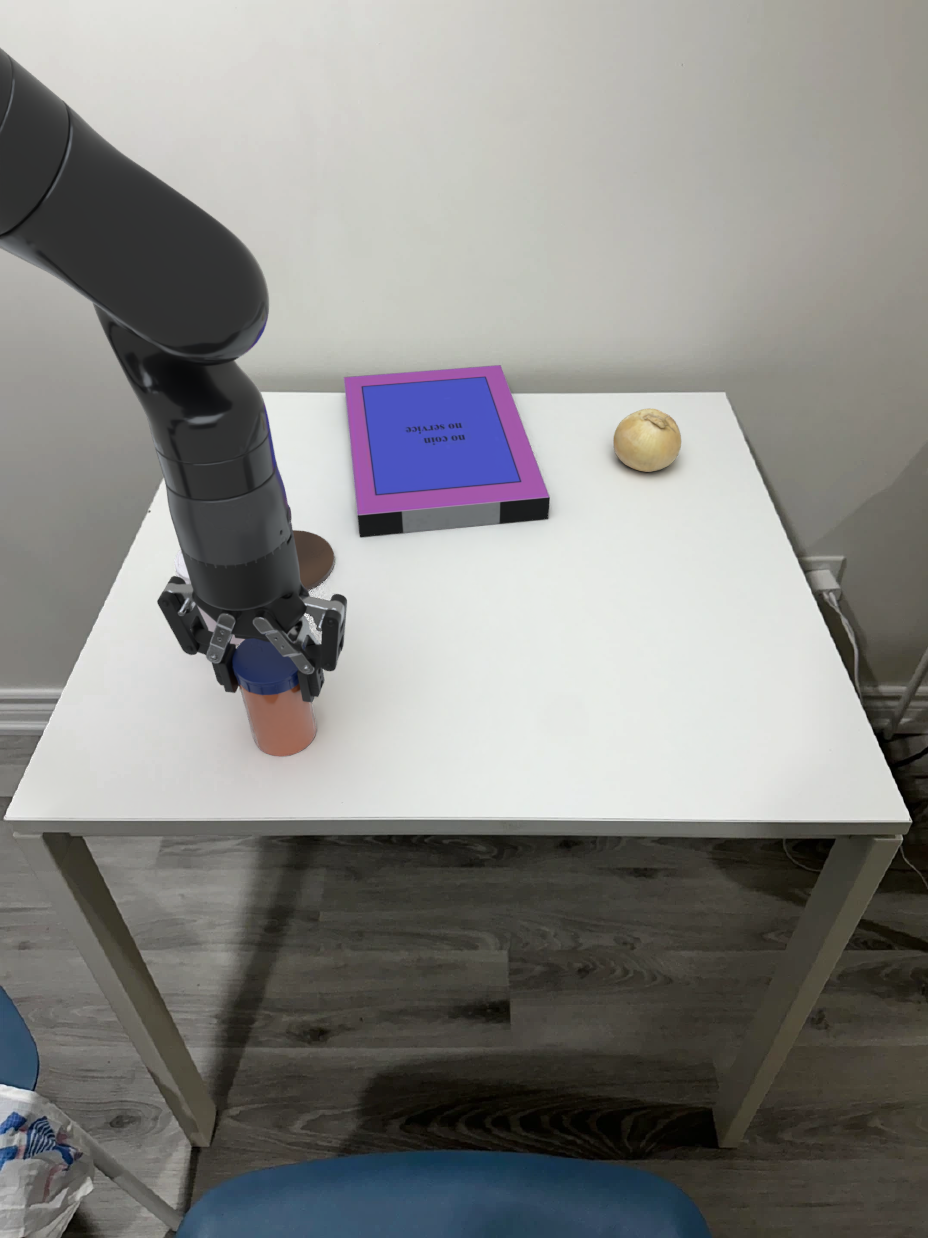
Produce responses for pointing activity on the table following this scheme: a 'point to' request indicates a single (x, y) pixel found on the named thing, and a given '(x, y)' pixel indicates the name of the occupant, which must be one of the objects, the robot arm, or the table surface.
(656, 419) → the onion
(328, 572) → the coaster
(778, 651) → the table surface
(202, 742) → the table surface
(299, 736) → the jar
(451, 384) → the book
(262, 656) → the jar lid
